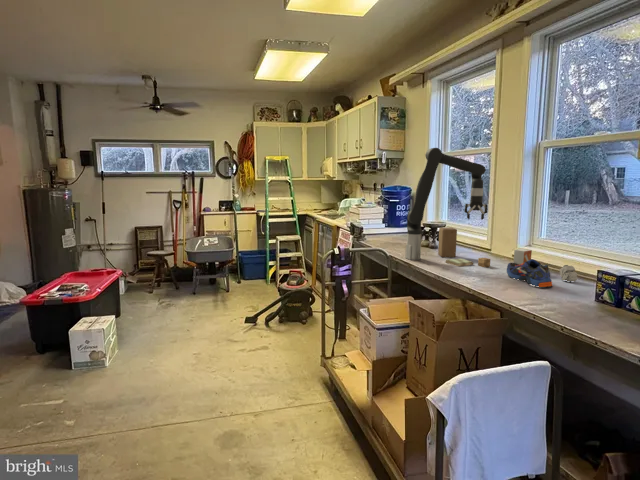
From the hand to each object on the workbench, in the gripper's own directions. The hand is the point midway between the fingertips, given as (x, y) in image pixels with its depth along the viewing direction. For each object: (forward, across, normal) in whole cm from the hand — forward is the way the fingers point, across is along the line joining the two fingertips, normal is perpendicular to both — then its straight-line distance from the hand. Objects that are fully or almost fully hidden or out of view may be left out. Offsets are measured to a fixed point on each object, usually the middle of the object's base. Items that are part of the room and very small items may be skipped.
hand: (475, 219), depth 278 cm
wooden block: (+28, -16, +8) cm, 33 cm away
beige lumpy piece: (+27, +38, -55) cm, 72 cm away
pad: (+27, -12, -17) cm, 34 cm away
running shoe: (+28, +18, -57) cm, 66 cm away
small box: (+27, +21, -34) cm, 48 cm away
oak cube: (+27, +2, -22) cm, 35 cm away
